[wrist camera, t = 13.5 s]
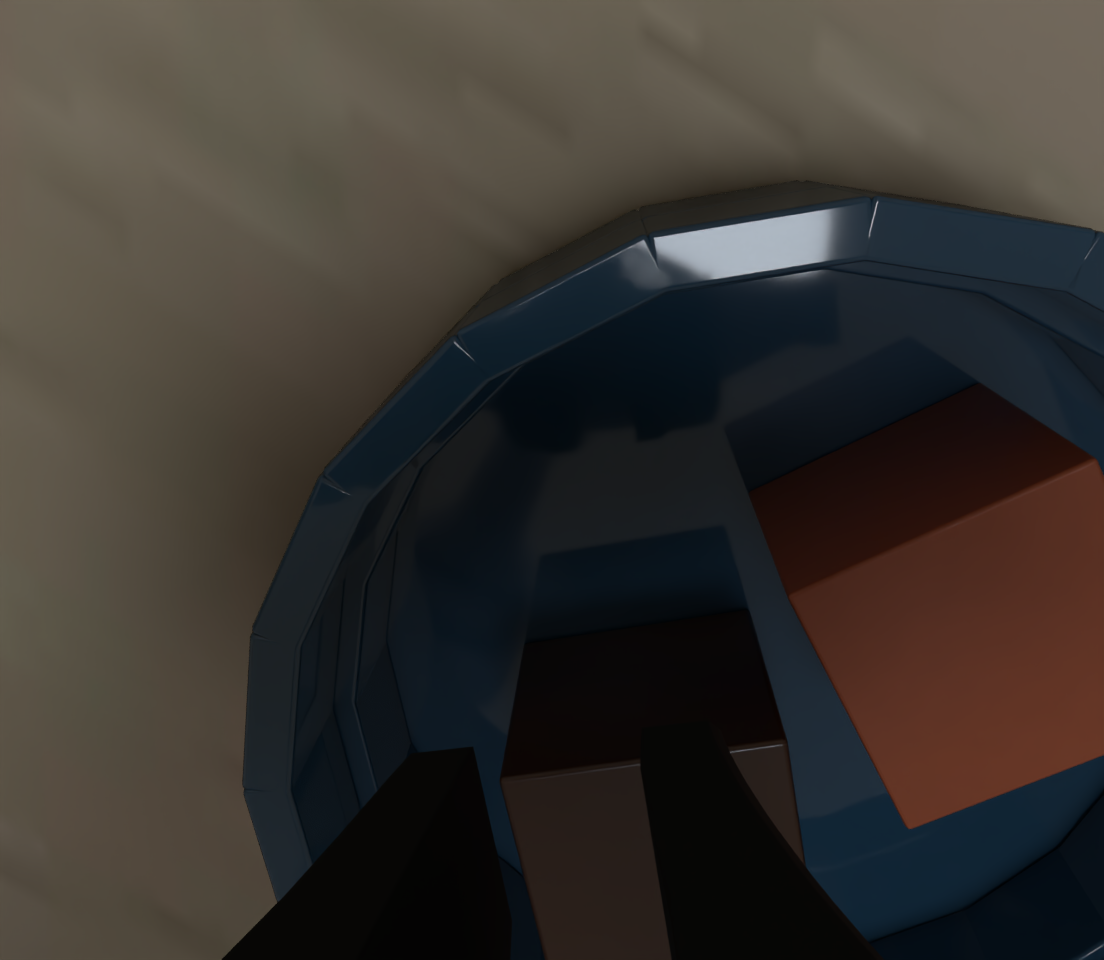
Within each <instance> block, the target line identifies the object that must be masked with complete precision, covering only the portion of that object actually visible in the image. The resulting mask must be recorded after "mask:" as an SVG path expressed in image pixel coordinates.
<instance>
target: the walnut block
mask: <svg viewBox="0 0 1104 960" xmlns="http://www.w3.org/2000/svg"><path fill="white" fill-rule="evenodd" d="M704 720H708V721H709V722H711V723H712V724H713V725H715V726H716V727H717V728H719V729H720V730H721V732H722V735H723V738H724V740H725V743H726V745H727V747H728V749H729V751H730V753H731V755H732V757H733V759H734V761H735V763H736V765H737V767H738V768H739V770H740V772H741V774H742V775H743V777H744V779H745V780H746V782H747V784H748V785H749V787H750V788H751V790H752V792H753V793H754V795H755V796H756V798H757V799H758V801H759V803H760V804H761V806H762V807H763V809H764V810H765V812H766V813H767V815H768V816H769V817H770V819H771V820H772V822H773V823H774V825H775V826H776V827H777V829H778V830H779V832H780V833H781V834H782V836H783V837H784V838H785V840H786V841H787V842H788V844H789V845H790V846H791V848H792V849H793V850H794V852H795V853H796V854H797V856H798V857H799V858H800V860H801V861H802V862H803V864H804V865H805V866H806V862H805V855H804V848H803V841H802V835H801V828H800V821H799V814H798V808H797V801H796V794H795V787H794V781H793V774H792V767H791V760H790V753H789V747H788V741H787V737H786V734H785V730H784V727H783V724H782V720H781V717H780V713H779V710H778V706H777V703H776V699H775V696H774V692H773V689H772V685H771V682H770V678H769V675H768V672H767V668H766V665H765V661H764V658H763V654H762V651H761V647H760V644H759V640H758V637H757V633H756V630H755V627H754V623H753V620H752V616H751V614H750V612H749V611H747V610H742V611H736V612H729V613H723V614H716V615H710V616H703V617H697V618H690V619H684V620H677V621H671V622H664V623H658V624H651V625H645V626H638V627H632V628H625V629H619V630H612V631H605V632H599V633H592V634H586V635H579V636H573V637H566V638H560V639H553V640H547V641H540V642H534V643H528V644H526V645H524V647H523V653H522V658H521V664H520V669H519V675H518V680H517V686H516V691H515V697H514V702H513V708H512V714H511V719H510V725H509V730H508V736H507V741H506V747H505V752H504V758H503V764H502V769H501V775H500V780H499V782H500V786H501V790H502V794H503V798H504V802H505V806H506V809H507V813H508V817H509V821H510V825H511V829H512V833H513V837H514V841H515V845H516V849H517V853H518V856H519V860H520V864H521V868H522V872H523V876H524V880H525V884H526V888H527V892H528V896H529V899H530V903H531V907H532V911H533V915H534V919H535V923H536V927H537V931H538V935H539V939H540V942H541V946H542V950H543V954H544V958H545V960H672V959H671V953H670V947H669V941H668V934H667V928H666V922H665V916H664V910H663V904H662V898H661V892H660V886H659V880H658V873H657V867H656V861H655V855H654V849H653V843H652V837H651V831H650V825H649V819H648V812H647V806H646V800H645V794H644V788H643V782H642V776H641V770H640V755H641V731H642V727H651V726H660V725H669V724H678V723H687V722H696V721H704Z"/></svg>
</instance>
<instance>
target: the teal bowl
mask: <svg viewBox="0 0 1104 960" xmlns="http://www.w3.org/2000/svg"><path fill="white" fill-rule="evenodd" d="M978 383H982V384H983V385H985V386H986V387H988V388H989V389H991V390H992V391H994V392H995V393H997V394H998V395H1000V396H1002V397H1003V398H1005V399H1006V400H1008V401H1009V402H1011V403H1012V404H1014V405H1015V406H1017V407H1018V408H1020V409H1021V410H1023V411H1024V412H1026V413H1027V414H1029V415H1030V416H1032V417H1034V418H1035V419H1037V420H1038V421H1040V422H1041V423H1043V424H1044V425H1046V426H1047V427H1049V428H1050V429H1052V430H1053V431H1055V432H1056V433H1058V434H1059V435H1061V436H1062V437H1064V438H1066V439H1067V440H1069V441H1070V442H1072V443H1073V444H1075V445H1076V446H1078V447H1079V448H1081V449H1082V450H1084V451H1085V452H1087V453H1088V454H1090V455H1091V456H1093V457H1094V458H1096V459H1097V460H1098V463H1099V465H1100V468H1101V470H1102V473H1103V475H1104V232H1101V231H1096V230H1093V229H1091V228H1086V227H1081V226H1075V225H1070V224H1064V223H1059V222H1053V221H1048V220H1043V219H1037V218H1032V217H1026V216H1021V215H1015V214H1010V213H1004V212H999V211H993V210H988V209H982V208H977V207H971V206H966V205H960V204H954V203H948V202H941V201H935V200H928V199H922V198H916V197H909V196H903V195H896V194H890V193H884V192H877V191H871V190H865V189H858V188H852V187H845V186H839V185H833V184H826V183H820V182H813V181H807V180H806V181H803V182H802V181H798V180H796V181H790V182H784V183H778V184H773V185H767V186H761V187H755V188H749V189H743V190H737V191H731V192H725V193H720V194H714V195H708V196H702V197H696V198H690V199H684V200H678V201H672V202H667V203H661V204H655V205H649V206H643V207H641V208H639V210H632V211H630V212H628V213H626V214H624V215H622V216H621V217H619V218H617V219H615V220H613V221H611V222H609V223H607V224H605V225H603V226H602V227H600V228H598V229H596V230H594V231H592V232H590V233H588V234H586V235H585V236H583V237H581V238H579V239H577V240H575V241H573V242H571V243H569V244H567V245H566V246H564V247H562V248H560V249H558V250H556V251H554V252H552V253H550V254H549V255H547V256H545V257H543V258H541V259H539V260H537V261H535V262H533V263H531V264H530V265H528V266H526V267H524V268H522V269H520V270H518V271H516V272H514V273H513V274H511V275H509V276H507V277H505V278H503V279H501V280H500V281H499V282H498V283H497V284H495V285H493V286H492V287H491V288H490V289H489V290H488V291H487V292H486V293H485V294H484V295H483V296H482V297H481V299H480V300H479V301H478V302H477V303H476V304H475V305H474V306H473V307H472V308H471V309H470V310H469V311H468V312H467V313H466V314H465V315H464V316H463V317H462V318H461V320H460V321H459V322H458V323H457V324H456V325H455V326H454V327H453V328H452V329H451V330H450V331H449V332H448V333H447V334H446V335H445V336H444V337H443V338H442V339H441V340H440V342H439V343H438V344H437V345H436V346H435V347H434V348H433V349H432V350H431V351H430V352H429V353H428V354H427V355H426V356H425V357H424V358H423V359H422V360H421V361H420V362H419V364H418V365H417V366H416V367H415V368H414V369H413V370H412V371H411V372H410V373H409V374H408V375H407V376H406V377H405V378H404V379H403V380H402V381H401V382H400V383H399V385H398V386H397V387H396V388H395V389H394V390H393V391H392V392H391V393H390V394H389V396H388V397H387V398H386V399H385V400H384V401H383V402H382V403H381V405H380V406H379V407H378V408H377V409H376V410H375V411H374V412H373V414H372V415H371V416H370V417H369V418H368V419H367V420H366V422H365V423H364V424H363V425H362V426H361V427H360V428H359V429H358V431H357V432H356V433H355V434H354V435H353V436H352V437H351V438H350V440H349V441H348V442H347V443H346V444H345V445H344V446H343V447H342V449H341V450H340V451H339V452H338V453H337V454H336V455H335V456H334V458H333V459H332V460H331V461H330V462H329V463H328V464H327V465H326V467H325V468H324V471H323V472H322V474H321V475H320V476H319V477H318V478H317V480H316V483H315V485H314V487H313V489H312V492H311V494H310V496H309V499H308V501H307V503H306V505H305V508H304V510H303V512H302V514H301V517H300V519H299V521H298V524H297V526H296V528H295V530H294V533H293V535H292V537H291V539H290V542H289V544H288V546H287V548H286V551H285V553H284V555H283V558H282V560H281V562H280V564H279V567H278V569H277V571H276V573H275V576H274V578H273V580H272V583H271V585H270V587H269V589H268V592H267V594H266V596H265V598H264V601H263V603H262V605H261V608H260V610H259V612H258V614H257V617H256V619H255V621H254V623H253V626H252V634H251V636H250V646H249V665H248V684H247V703H246V722H245V741H244V760H243V779H242V784H243V788H244V798H245V801H246V804H247V807H248V810H249V814H250V817H251V820H252V823H253V826H254V830H255V833H256V836H257V839H258V842H259V846H260V849H261V852H262V855H263V858H264V862H265V865H266V868H267V871H268V874H269V878H270V881H271V884H272V887H273V890H274V893H275V897H276V900H277V903H278V902H279V901H280V900H281V899H282V898H283V897H284V895H285V894H286V893H287V892H288V891H289V890H290V889H291V888H292V887H293V886H294V884H295V883H296V882H297V881H298V880H299V879H300V878H301V877H302V876H303V874H304V873H305V872H306V871H307V870H308V869H309V868H310V867H311V866H312V864H313V863H314V862H315V861H316V860H317V859H318V858H319V857H320V856H321V854H322V853H323V852H324V851H325V850H326V849H327V848H328V847H329V846H330V844H331V843H332V842H333V841H334V840H335V839H336V838H337V837H338V836H339V834H340V833H341V832H342V831H343V830H344V829H345V828H346V826H347V825H348V824H349V823H350V822H351V821H352V820H353V818H354V817H355V816H356V815H357V814H358V813H359V811H360V810H361V809H362V808H363V807H364V806H365V805H366V803H367V802H368V801H369V800H370V799H371V798H372V796H373V795H374V794H375V793H376V792H377V791H378V790H379V788H380V787H381V786H382V785H383V784H384V783H385V781H386V780H387V779H388V778H389V777H390V776H391V775H392V774H393V772H394V771H395V770H396V769H397V768H398V767H399V766H400V765H401V764H402V763H403V761H404V760H405V759H406V758H407V757H408V756H409V755H410V754H411V753H419V752H428V751H437V750H446V749H455V748H464V747H473V748H474V752H475V757H476V761H477V766H478V770H479V774H480V779H481V783H482V788H483V792H484V797H485V801H486V806H487V810H488V815H489V819H490V824H491V828H492V833H493V837H494V842H495V846H496V851H497V855H498V859H499V864H500V868H501V873H502V877H503V882H504V886H505V891H506V895H507V900H508V904H509V909H510V913H511V918H512V935H511V958H510V960H545V958H544V954H543V950H542V946H541V942H540V939H539V935H538V931H537V927H536V923H535V919H534V915H533V911H532V907H531V903H530V899H529V896H528V892H527V888H526V884H525V880H524V876H523V872H522V868H521V864H520V860H519V856H518V853H517V849H516V845H515V841H514V837H513V833H512V829H511V825H510V821H509V817H508V813H507V809H506V806H505V802H504V798H503V794H502V790H501V786H500V782H499V780H500V775H501V769H502V764H503V758H504V752H505V747H506V741H507V736H508V730H509V725H510V719H511V714H512V708H513V702H514V697H515V691H516V686H517V680H518V675H519V669H520V664H521V658H522V653H523V647H524V645H526V644H528V643H534V642H540V641H547V640H553V639H560V638H566V637H573V636H579V635H586V634H592V633H599V632H605V631H612V630H619V629H625V628H632V627H638V626H645V625H651V624H658V623H664V622H671V621H677V620H684V619H690V618H697V617H703V616H710V615H716V614H723V613H729V612H736V611H742V610H747V611H749V612H750V614H751V616H752V620H753V623H754V627H755V630H756V633H757V637H758V640H759V644H760V647H761V651H762V654H763V658H764V661H765V665H766V668H767V672H768V675H769V678H770V682H771V685H772V689H773V692H774V696H775V699H776V703H777V706H778V710H779V713H780V717H781V720H782V724H783V727H784V730H785V734H786V737H787V741H788V747H789V753H790V760H791V767H792V774H793V781H794V787H795V794H796V801H797V808H798V814H799V821H800V828H801V835H802V841H803V848H804V855H805V862H806V868H807V869H808V870H809V872H810V873H811V874H812V876H813V877H814V878H815V879H816V881H817V882H818V883H819V884H820V886H821V887H822V888H823V889H824V890H825V892H826V893H827V894H828V895H829V897H830V898H831V899H832V900H833V902H834V903H835V904H836V905H837V906H838V907H839V909H840V910H841V911H842V912H843V913H844V914H845V916H846V917H847V918H848V919H849V920H850V921H851V922H852V924H853V925H854V926H855V927H856V928H857V929H858V931H859V932H860V933H861V934H862V935H863V936H864V938H865V939H866V940H867V941H868V942H869V943H870V944H871V946H872V947H873V948H874V949H875V950H876V951H877V952H878V953H879V954H880V955H881V956H882V958H883V959H884V960H1104V755H1103V756H1101V757H1098V758H1096V759H1093V760H1090V761H1088V762H1085V763H1083V764H1080V765H1077V766H1075V767H1072V768H1069V769H1067V770H1064V771H1062V772H1059V773H1056V774H1054V775H1051V776H1049V777H1046V778H1043V779H1041V780H1038V781H1036V782H1033V783H1030V784H1028V785H1025V786H1023V787H1020V788H1017V789H1015V790H1012V791H1010V792H1007V793H1004V794H1002V795H999V796H997V797H994V798H991V799H989V800H986V801H984V802H981V803H978V804H976V805H973V806H971V807H968V808H965V809H963V810H960V811H958V812H955V813H952V814H950V815H947V816H945V817H942V818H939V819H937V820H934V821H931V822H929V823H926V824H924V825H921V826H918V827H916V828H913V829H908V828H907V827H905V825H904V823H903V821H902V819H901V817H900V815H899V813H898V811H897V809H896V807H895V806H894V804H893V802H892V800H891V798H890V796H889V794H888V792H887V790H886V788H885V786H884V784H883V782H882V780H881V778H880V776H879V774H878V773H877V771H876V769H875V767H874V765H873V763H872V761H871V759H870V757H869V755H868V753H867V751H866V749H865V747H864V745H863V743H862V741H861V740H860V738H859V736H858V734H857V732H856V730H855V728H854V726H853V724H852V722H851V720H850V718H849V716H848V714H847V712H846V710H845V708H844V706H843V705H842V703H841V701H840V699H839V697H838V695H837V693H836V691H835V689H834V687H833V685H832V683H831V681H830V679H829V677H828V675H827V673H826V672H825V670H824V668H823V666H822V664H821V662H820V660H819V658H818V656H817V654H816V652H815V650H814V648H813V646H812V644H811V642H810V640H809V639H808V637H807V635H806V633H805V631H804V629H803V627H802V625H801V623H800V621H799V619H798V617H797V615H796V613H795V611H794V609H793V607H792V605H791V604H790V602H789V600H788V598H787V595H786V592H785V590H784V587H783V584H782V582H781V579H780V577H779V574H778V571H777V569H776V566H775V563H774V561H773V558H772V556H771V553H770V550H769V548H768V545H767V542H766V540H765V537H764V535H763V532H762V529H761V527H760V524H759V521H758V519H757V516H756V513H755V511H754V508H753V506H752V503H751V500H750V498H749V492H750V491H752V490H754V489H756V488H758V487H761V486H763V485H765V484H767V483H769V482H771V481H773V480H775V479H777V478H780V477H782V476H784V475H786V474H788V473H790V472H792V471H794V470H796V469H799V468H801V467H803V466H805V465H807V464H809V463H811V462H813V461H815V460H818V459H820V458H822V457H824V456H826V455H828V454H830V453H832V452H834V451H837V450H839V449H841V448H843V447H845V446H847V445H849V444H851V443H853V442H856V441H858V440H860V439H862V438H864V437H866V436H868V435H870V434H873V433H875V432H877V431H879V430H881V429H883V428H885V427H887V426H889V425H892V424H894V423H896V422H898V421H900V420H902V419H904V418H906V417H908V416H911V415H913V414H915V413H917V412H919V411H921V410H923V409H925V408H927V407H930V406H932V405H934V404H936V403H938V402H940V401H942V400H944V399H946V398H949V397H951V396H953V395H955V394H957V393H959V392H961V391H963V390H965V389H968V388H970V387H972V386H974V385H976V384H978Z"/></svg>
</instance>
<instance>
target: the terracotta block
mask: <svg viewBox="0 0 1104 960" xmlns="http://www.w3.org/2000/svg"><path fill="white" fill-rule="evenodd" d="M749 498H750V500H751V503H752V506H753V508H754V511H755V513H756V516H757V519H758V521H759V524H760V527H761V529H762V532H763V535H764V537H765V540H766V542H767V545H768V548H769V550H770V553H771V556H772V558H773V561H774V563H775V566H776V569H777V571H778V574H779V577H780V579H781V582H782V584H783V587H784V590H785V592H786V595H787V598H788V600H789V602H790V604H791V605H792V607H793V609H794V611H795V613H796V615H797V617H798V619H799V621H800V623H801V625H802V627H803V629H804V631H805V633H806V635H807V637H808V639H809V640H810V642H811V644H812V646H813V648H814V650H815V652H816V654H817V656H818V658H819V660H820V662H821V664H822V666H823V668H824V670H825V672H826V673H827V675H828V677H829V679H830V681H831V683H832V685H833V687H834V689H835V691H836V693H837V695H838V697H839V699H840V701H841V703H842V705H843V706H844V708H845V710H846V712H847V714H848V716H849V718H850V720H851V722H852V724H853V726H854V728H855V730H856V732H857V734H858V736H859V738H860V740H861V741H862V743H863V745H864V747H865V749H866V751H867V753H868V755H869V757H870V759H871V761H872V763H873V765H874V767H875V769H876V771H877V773H878V774H879V776H880V778H881V780H882V782H883V784H884V786H885V788H886V790H887V792H888V794H889V796H890V798H891V800H892V802H893V804H894V806H895V807H896V809H897V811H898V813H899V815H900V817H901V819H902V821H903V823H904V825H905V827H907V828H908V829H913V828H916V827H918V826H921V825H924V824H926V823H929V822H931V821H934V820H937V819H939V818H942V817H945V816H947V815H950V814H952V813H955V812H958V811H960V810H963V809H965V808H968V807H971V806H973V805H976V804H978V803H981V802H984V801H986V800H989V799H991V798H994V797H997V796H999V795H1002V794H1004V793H1007V792H1010V791H1012V790H1015V789H1017V788H1020V787H1023V786H1025V785H1028V784H1030V783H1033V782H1036V781H1038V780H1041V779H1043V778H1046V777H1049V776H1051V775H1054V774H1056V773H1059V772H1062V771H1064V770H1067V769H1069V768H1072V767H1075V766H1077V765H1080V764H1083V763H1085V762H1088V761H1090V760H1093V759H1096V758H1098V757H1101V756H1103V755H1104V475H1103V473H1102V470H1101V468H1100V465H1099V463H1098V460H1097V459H1096V458H1094V457H1093V456H1091V455H1090V454H1088V453H1087V452H1085V451H1084V450H1082V449H1081V448H1079V447H1078V446H1076V445H1075V444H1073V443H1072V442H1070V441H1069V440H1067V439H1066V438H1064V437H1062V436H1061V435H1059V434H1058V433H1056V432H1055V431H1053V430H1052V429H1050V428H1049V427H1047V426H1046V425H1044V424H1043V423H1041V422H1040V421H1038V420H1037V419H1035V418H1034V417H1032V416H1030V415H1029V414H1027V413H1026V412H1024V411H1023V410H1021V409H1020V408H1018V407H1017V406H1015V405H1014V404H1012V403H1011V402H1009V401H1008V400H1006V399H1005V398H1003V397H1002V396H1000V395H998V394H997V393H995V392H994V391H992V390H991V389H989V388H988V387H986V386H985V385H983V384H982V383H978V384H976V385H974V386H972V387H970V388H968V389H965V390H963V391H961V392H959V393H957V394H955V395H953V396H951V397H949V398H946V399H944V400H942V401H940V402H938V403H936V404H934V405H932V406H930V407H927V408H925V409H923V410H921V411H919V412H917V413H915V414H913V415H911V416H908V417H906V418H904V419H902V420H900V421H898V422H896V423H894V424H892V425H889V426H887V427H885V428H883V429H881V430H879V431H877V432H875V433H873V434H870V435H868V436H866V437H864V438H862V439H860V440H858V441H856V442H853V443H851V444H849V445H847V446H845V447H843V448H841V449H839V450H837V451H834V452H832V453H830V454H828V455H826V456H824V457H822V458H820V459H818V460H815V461H813V462H811V463H809V464H807V465H805V466H803V467H801V468H799V469H796V470H794V471H792V472H790V473H788V474H786V475H784V476H782V477H780V478H777V479H775V480H773V481H771V482H769V483H767V484H765V485H763V486H761V487H758V488H756V489H754V490H752V491H750V492H749Z"/></svg>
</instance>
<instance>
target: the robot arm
mask: <svg viewBox="0 0 1104 960" xmlns="http://www.w3.org/2000/svg"><path fill="white" fill-rule="evenodd" d="M640 770H641V776H642V782H643V788H644V794H645V800H646V806H647V812H648V819H649V825H650V831H651V837H652V843H653V849H654V855H655V861H656V867H657V873H658V880H659V886H660V892H661V898H662V904H663V910H664V916H665V922H666V928H667V934H668V941H669V947H670V953H671V959H672V960H884V959H883V958H882V956H881V955H880V954H879V953H878V952H877V951H876V950H875V949H874V948H873V947H872V946H871V944H870V943H869V942H868V941H867V940H866V939H865V938H864V936H863V935H862V934H861V933H860V932H859V931H858V929H857V928H856V927H855V926H854V925H853V924H852V922H851V921H850V920H849V919H848V918H847V917H846V916H845V914H844V913H843V912H842V911H841V910H840V909H839V907H838V906H837V905H836V904H835V903H834V902H833V900H832V899H831V898H830V897H829V895H828V894H827V893H826V892H825V890H824V889H823V888H822V887H821V886H820V884H819V883H818V882H817V881H816V879H815V878H814V877H813V876H812V874H811V873H810V872H809V870H808V869H807V868H806V866H805V865H804V864H803V862H802V861H801V860H800V858H799V857H798V856H797V854H796V853H795V852H794V850H793V849H792V848H791V846H790V845H789V844H788V842H787V841H786V840H785V838H784V837H783V836H782V834H781V833H780V832H779V830H778V829H777V827H776V826H775V825H774V823H773V822H772V820H771V819H770V817H769V816H768V815H767V813H766V812H765V810H764V809H763V807H762V806H761V804H760V803H759V801H758V799H757V798H756V796H755V795H754V793H753V792H752V790H751V788H750V787H749V785H748V784H747V782H746V780H745V779H744V777H743V775H742V774H741V772H740V770H739V768H738V767H737V765H736V763H735V761H734V759H733V757H732V755H731V753H730V751H729V749H728V747H727V745H726V743H725V740H724V738H723V735H722V732H721V730H720V729H719V728H717V727H716V726H715V725H713V724H712V723H711V722H709V721H708V720H704V721H696V722H687V723H678V724H669V725H660V726H651V727H642V731H641V755H640ZM511 935H512V918H511V913H510V909H509V904H508V900H507V895H506V891H505V886H504V882H503V877H502V873H501V868H500V864H499V859H498V855H497V851H496V846H495V842H494V837H493V833H492V828H491V824H490V819H489V815H488V810H487V806H486V801H485V797H484V792H483V788H482V783H481V779H480V774H479V770H478V766H477V761H476V757H475V752H474V748H473V747H464V748H455V749H446V750H437V751H428V752H419V753H411V754H410V755H409V756H408V757H407V758H406V759H405V760H404V761H403V763H402V764H401V765H400V766H399V767H398V768H397V769H396V770H395V771H394V772H393V774H392V775H391V776H390V777H389V778H388V779H387V780H386V781H385V783H384V784H383V785H382V786H381V787H380V788H379V790H378V791H377V792H376V793H375V794H374V795H373V796H372V798H371V799H370V800H369V801H368V802H367V803H366V805H365V806H364V807H363V808H362V809H361V810H360V811H359V813H358V814H357V815H356V816H355V817H354V818H353V820H352V821H351V822H350V823H349V824H348V825H347V826H346V828H345V829H344V830H343V831H342V832H341V833H340V834H339V836H338V837H337V838H336V839H335V840H334V841H333V842H332V843H331V844H330V846H329V847H328V848H327V849H326V850H325V851H324V852H323V853H322V854H321V856H320V857H319V858H318V859H317V860H316V861H315V862H314V863H313V864H312V866H311V867H310V868H309V869H308V870H307V871H306V872H305V873H304V874H303V876H302V877H301V878H300V879H299V880H298V881H297V882H296V883H295V884H294V886H293V887H292V888H291V889H290V890H289V891H288V892H287V893H286V894H285V895H284V897H283V898H282V899H281V900H280V901H279V902H278V903H277V904H276V905H275V906H274V907H273V908H272V909H271V910H270V911H269V912H268V913H267V914H266V915H265V916H264V917H263V918H262V919H261V920H260V921H259V922H258V923H257V924H256V925H255V926H254V927H253V928H252V929H251V930H250V931H249V932H248V933H247V934H246V935H245V936H244V937H243V938H242V939H241V940H240V941H239V942H238V943H237V944H236V945H235V946H234V947H233V948H232V949H231V950H230V952H229V953H228V954H227V955H226V956H225V957H224V958H223V959H222V960H510V958H511Z"/></svg>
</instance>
